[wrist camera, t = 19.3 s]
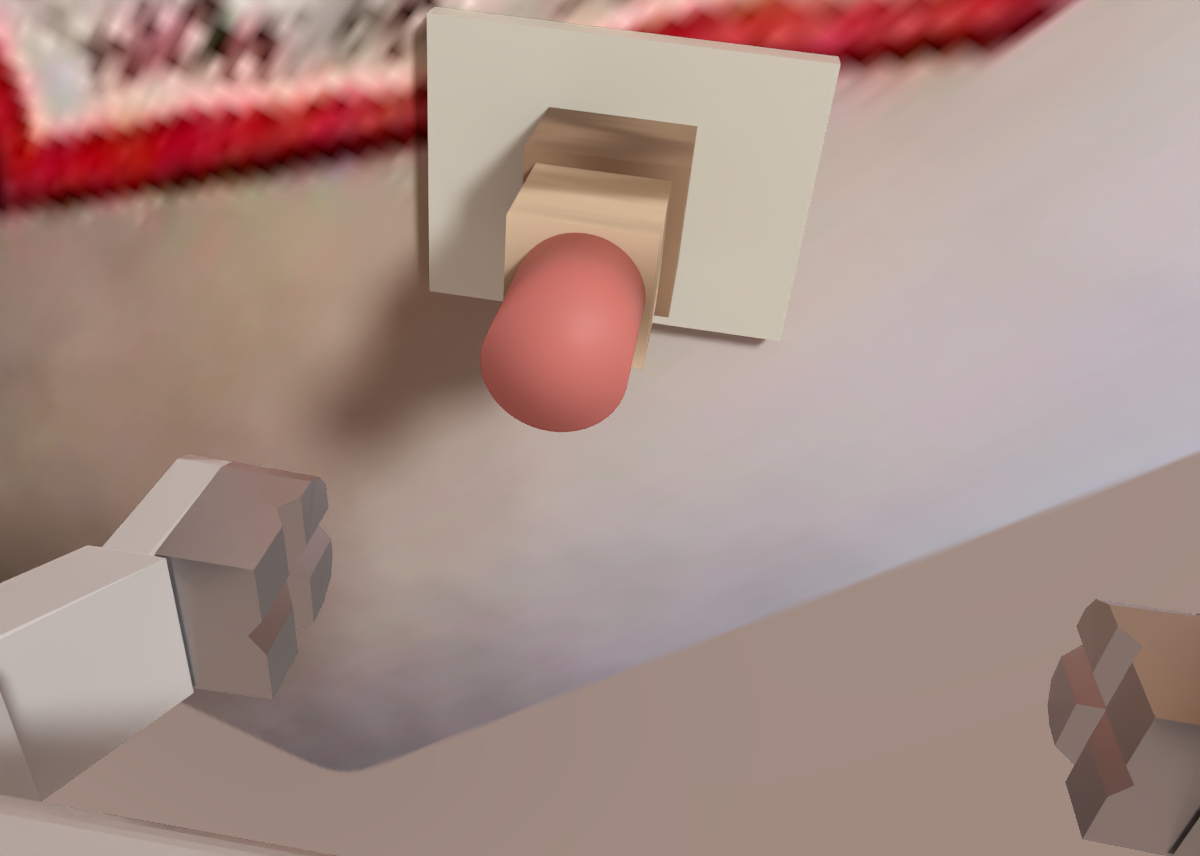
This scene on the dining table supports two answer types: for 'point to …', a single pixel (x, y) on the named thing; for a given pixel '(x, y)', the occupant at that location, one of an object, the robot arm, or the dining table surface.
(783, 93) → the board
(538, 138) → the walnut base
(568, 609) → the dining table surface
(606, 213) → the beech cube
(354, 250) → the dining table surface
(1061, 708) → the robot arm
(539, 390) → the red capsule
